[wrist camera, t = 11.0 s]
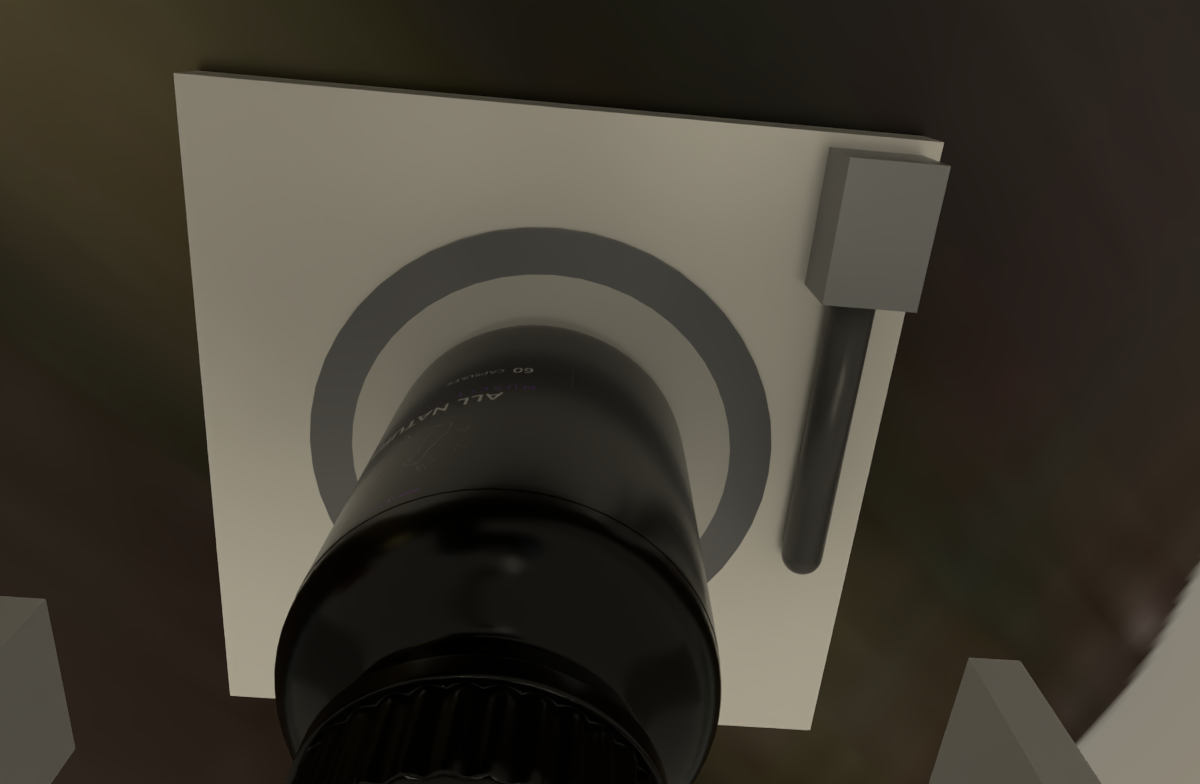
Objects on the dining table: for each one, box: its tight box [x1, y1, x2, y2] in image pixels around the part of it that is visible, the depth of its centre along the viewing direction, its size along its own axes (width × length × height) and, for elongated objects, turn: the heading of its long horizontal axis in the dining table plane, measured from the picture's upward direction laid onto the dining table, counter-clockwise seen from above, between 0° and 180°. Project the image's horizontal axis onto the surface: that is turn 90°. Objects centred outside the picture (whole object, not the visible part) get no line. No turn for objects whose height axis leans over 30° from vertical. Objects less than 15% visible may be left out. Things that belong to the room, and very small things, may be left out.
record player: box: [173, 70, 951, 730], centre depth 21 cm, size 16×16×3 cm
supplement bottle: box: [274, 325, 721, 784], centre depth 15 cm, size 7×7×12 cm
